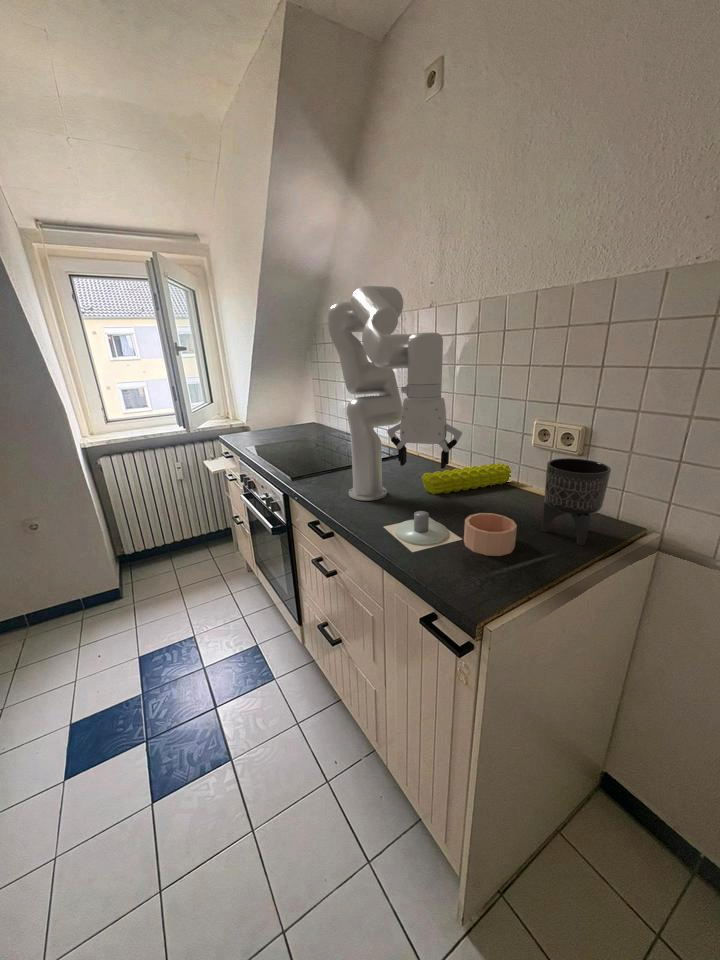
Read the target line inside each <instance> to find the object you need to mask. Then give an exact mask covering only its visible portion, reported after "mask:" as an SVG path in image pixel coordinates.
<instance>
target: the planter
mask: <svg viewBox="0 0 720 960" xmlns="http://www.w3.org/2000/svg"><path fill="white" fill-rule="evenodd" d="M545 471H546V475H545V488H544V502H543V514H542V525H541V532H542V533H548V530H549V527H550V525H551V523H552V521H554V520H555V519H556V518H557V517H559V516H563V515H566V514H567V515H570V517H572V519H573V521H574V530H576V542H575V543H576V545H578V546H585V545H586V541H587V537H588V530H589V526H590V521H591V516H592V515H591V514H596V513H598V512H600V511H601V509H602V508H603V506H604V501H605V498H606V497H605V496H606V493H607V488H608V485H609V480H610V476H611V471H612V468H611V467H610V466H609V465H607V464H605V463H602V462H599V461H595V460H591V459H584V458H583V459H582V458H571V457H569V458H567V457H565V458H564V457H563V458H555V459H551V460H548V462H547V463H546V470H545Z"/></svg>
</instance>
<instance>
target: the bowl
mask: <svg viewBox="0 0 720 960" xmlns="http://www.w3.org/2000/svg"><path fill="white" fill-rule="evenodd" d="M517 528H518V525H517V523H516V522H515V520H513V519H512V518H509V517H507V516H505V515H502V514H497V513H492V512H478V513H473V514H469V515H468V516H467V517H466V518H464V531H463V534H464V535H463V542H464V543H463V544H464V546H465V547H466V548H467V549H469V550H470V551H472V552H473V553H477V554H480V555H484V556H488V557H489V556H491V557H492V556H493V557H501V556H505V555H508V554H511V553H512V552H513V551H514V549H515V548H516V547H515V546H516V540H517V539H516V537H517V531H518V530H517Z"/></svg>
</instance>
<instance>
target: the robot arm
mask: <svg viewBox="0 0 720 960" xmlns="http://www.w3.org/2000/svg"><path fill="white" fill-rule="evenodd" d="M403 309H404V299H403V295H402V293H401V292H400V290H399V289H397V288H396V287H393V286H380V285H379V286H378V285H365V286H364V285H363V286H359V287H357V289H355V290H354V291H353V293H352V294H351V297H350V301H342V302H341V301H340V302H337V303H336V302H335V304H333V305H331V306H330V307H329V309H328V311H327V327H328V333H329V336H330V338H331V341H332V343H333V345H334V347H335V350H336V351H337V353H338V358H339V363H340V367H341V372H342V376H343V380H344V381H343V382H344V383H345V388H346V390H347V392H348V393H349V394H351V395H356V396H357V395H358V396H359V395H365V396H359V397H355V398H353V399H351V400H349V402H348V403H347V406H346V417H347V422H348V425H349V433H350V447H351V464H352V465H351V469H352V488H350V489H349V490H348V496H349V498H352V499H353V500H357V501H364V502H365V501H367V502H369V501H378V500H380V499H383V498H385V497H386V496H387V494H388V490H387V488H385V487H384V486H383V476H382V475H383V469H382V468H383V462H382V461H383V459H382V458H383V457H382V452H383V451H382V441H381V438H380V436H379V435H378V433H376V430H374V428H379V427H387V426H393V425H395V426H393V427H391V428H389V429H388V430H387V432H386V433H387V434H388V436H389V438H390V441H391V443H392V444H393V445H395V447H396V449H397V450H398V455H397V456H398V458H397V460H398V462H399V463H400V464H399V465H400V467H401V466H402V467H403V466H405V464H407V457H408V456H407V453H408V452H407V449H408V448H407V446H406V444H418V445H419V444H422V445H439V447H440V448H441V449H442V451H441V452H440V468H441V469H442V470H443V469H444V470H445V467H446V466H447V465H449V461H450V450H451V449H453V448H454V447H455V446H456V445H457V444H458V442H459V440H460V439H461V437H462V435H463V431H461V430H460V429H458V428H455V427H454V426H452V425H450V424H449V423H448V422H447V408H446V401H445V397H442V389H443V388H442V383H443V381H442V379H443V360H444V359H443V353H444V352H443V351H444V349H443V348H444V338H443V335H442V334H440V333H438V332H418V333H412V334H411V333H409V334H406V333H400V334H399V333H396V334H395V333H394V331H396V329H397V326H398V324H399V317H400V316H401V315H402V312H403V311H404V310H403ZM353 333H362V334H361V335H362V337H361V338H362V340H361V341H362V342H361V341H360V339H358V338H357V337H356V336H355V335H354V334H353ZM396 369H397V370H399V369H407V384H406V386H402V387H401V389H400V391H401V393H402V394H405V395H406V398H405V397H404V398H403V402H402V400H401V396H400V391H399V386H398V382H397V378H396V374H395V371H394V370H396ZM372 394H373V395H372ZM374 394H378V395H374ZM366 395H367V396H366ZM368 395H370V396H368ZM399 422H400V423H399ZM396 424H397V425H396ZM398 431H399V437H398V436H397V434H396V432H398ZM447 432H448V433H450V434H451V435H453V438H452V440H450V441H448V440H447V439H446V438H447V434H448V433H447Z"/></svg>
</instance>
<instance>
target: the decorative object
mask: <svg viewBox="0 0 720 960" xmlns="http://www.w3.org/2000/svg"><path fill="white" fill-rule="evenodd" d="M504 464H505V463H503V464H501V465H500V462H497V463H489V464H488V465H487V464H482V465H479V466H477V465H473V466H471V467H470V468H469V467H468V466H467V467H462V468H461V469H460V468H454V469H452V470H451V469H446V470H445V469H444V471H439V470H438V471H434V472H433V473H432V472H425V473H423V475H422V476H421V479H422V483H423V487H424V489H425V492H428V493H429V494H431V495H438V494H442V493H443V494H450V493H451V492H459V491H468V490H470V489H472V490H473V489H475V490H476V489H478V488H479V487H480V488H487V486H489V485H490V486H489V487H493V486H492V485H494V486H496V485H499V484H500V485H504V484H506V482H507V481H508V480H509V477H511V475H510V474H509V473H511V470H510V468H509V466H508V465H509V464H507V465H504ZM503 483H504V484H503Z"/></svg>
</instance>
